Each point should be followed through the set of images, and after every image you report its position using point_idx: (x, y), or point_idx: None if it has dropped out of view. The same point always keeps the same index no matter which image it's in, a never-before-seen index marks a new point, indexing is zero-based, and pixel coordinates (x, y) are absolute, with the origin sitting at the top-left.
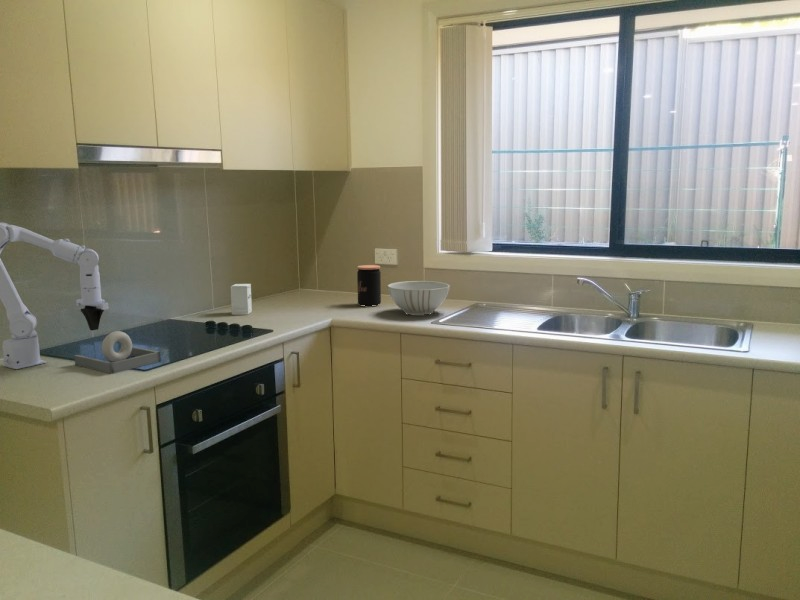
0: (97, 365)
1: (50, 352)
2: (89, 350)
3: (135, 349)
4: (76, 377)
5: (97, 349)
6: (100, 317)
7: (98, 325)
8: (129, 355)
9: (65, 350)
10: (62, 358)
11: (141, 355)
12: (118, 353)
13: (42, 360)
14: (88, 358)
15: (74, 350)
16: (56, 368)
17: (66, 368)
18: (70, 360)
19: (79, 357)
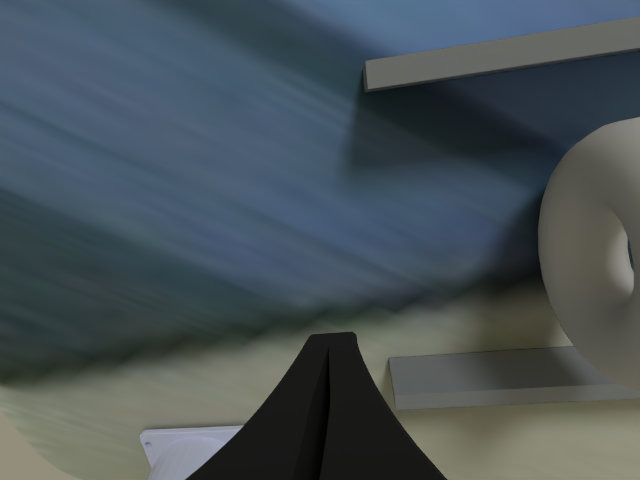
0: None
1: (30, 331)
2: (108, 183)
3: (575, 57)
4: (614, 456)
5: (111, 137)
6: (400, 425)
7: (360, 356)
8: (461, 77)
9: (25, 269)
10: (205, 350)
11: (628, 51)
12: (623, 244)
13: (217, 433)
14: (542, 401)
15: (54, 239)
16: None
17: (419, 416)
18: (278, 346)
19: (446, 403)
